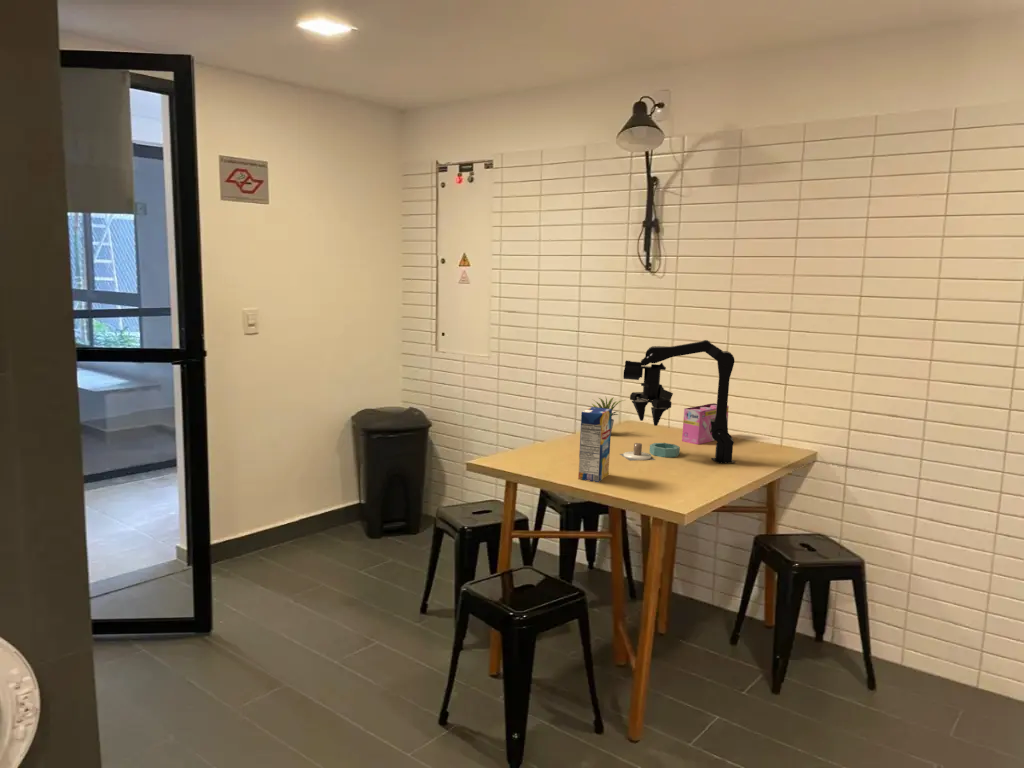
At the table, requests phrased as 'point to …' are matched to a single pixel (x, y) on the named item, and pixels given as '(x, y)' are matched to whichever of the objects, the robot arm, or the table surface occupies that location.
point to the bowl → (664, 450)
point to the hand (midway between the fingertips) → (648, 423)
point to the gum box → (699, 423)
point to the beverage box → (595, 444)
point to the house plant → (608, 407)
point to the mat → (635, 460)
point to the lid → (637, 453)
